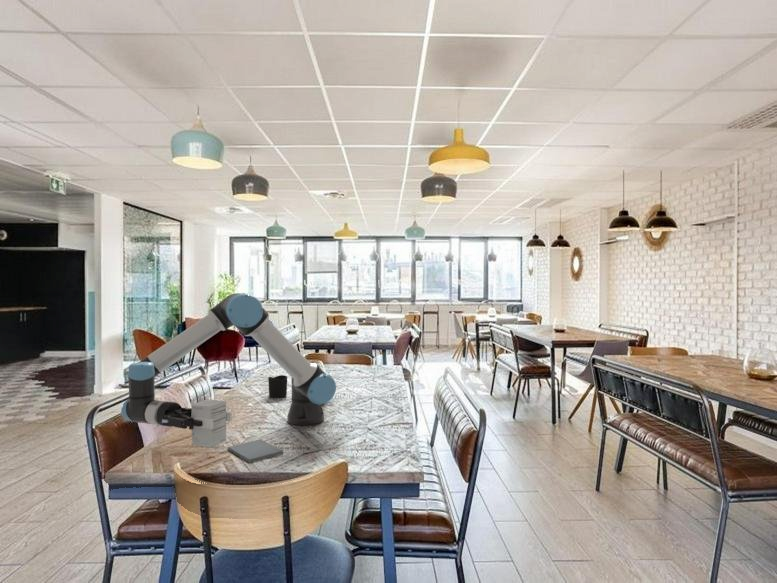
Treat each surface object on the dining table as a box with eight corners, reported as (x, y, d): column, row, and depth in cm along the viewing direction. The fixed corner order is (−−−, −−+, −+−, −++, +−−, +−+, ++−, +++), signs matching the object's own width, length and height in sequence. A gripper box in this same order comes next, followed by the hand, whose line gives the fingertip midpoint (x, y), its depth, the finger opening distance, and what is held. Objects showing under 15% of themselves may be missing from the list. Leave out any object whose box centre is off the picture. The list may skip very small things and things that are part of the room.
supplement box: (190, 445, 141) (190, 404, 141) (208, 438, 148) (208, 398, 147) (209, 448, 138) (209, 406, 138) (227, 440, 145) (226, 400, 145)
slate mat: (227, 449, 159) (227, 446, 159) (260, 441, 167) (260, 439, 167) (249, 462, 147) (249, 459, 147) (283, 453, 156) (283, 450, 156)
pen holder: (284, 398, 232) (284, 378, 232) (266, 398, 232) (266, 378, 232) (289, 394, 242) (289, 375, 242) (271, 394, 242) (271, 375, 242)
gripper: (188, 416, 159) (243, 423, 150) (137, 434, 140) (197, 443, 131) (188, 394, 158) (243, 400, 150) (137, 409, 140) (196, 416, 131)
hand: (221, 420), depth 141 cm, fingers closed on supplement box, 7 cm apart
